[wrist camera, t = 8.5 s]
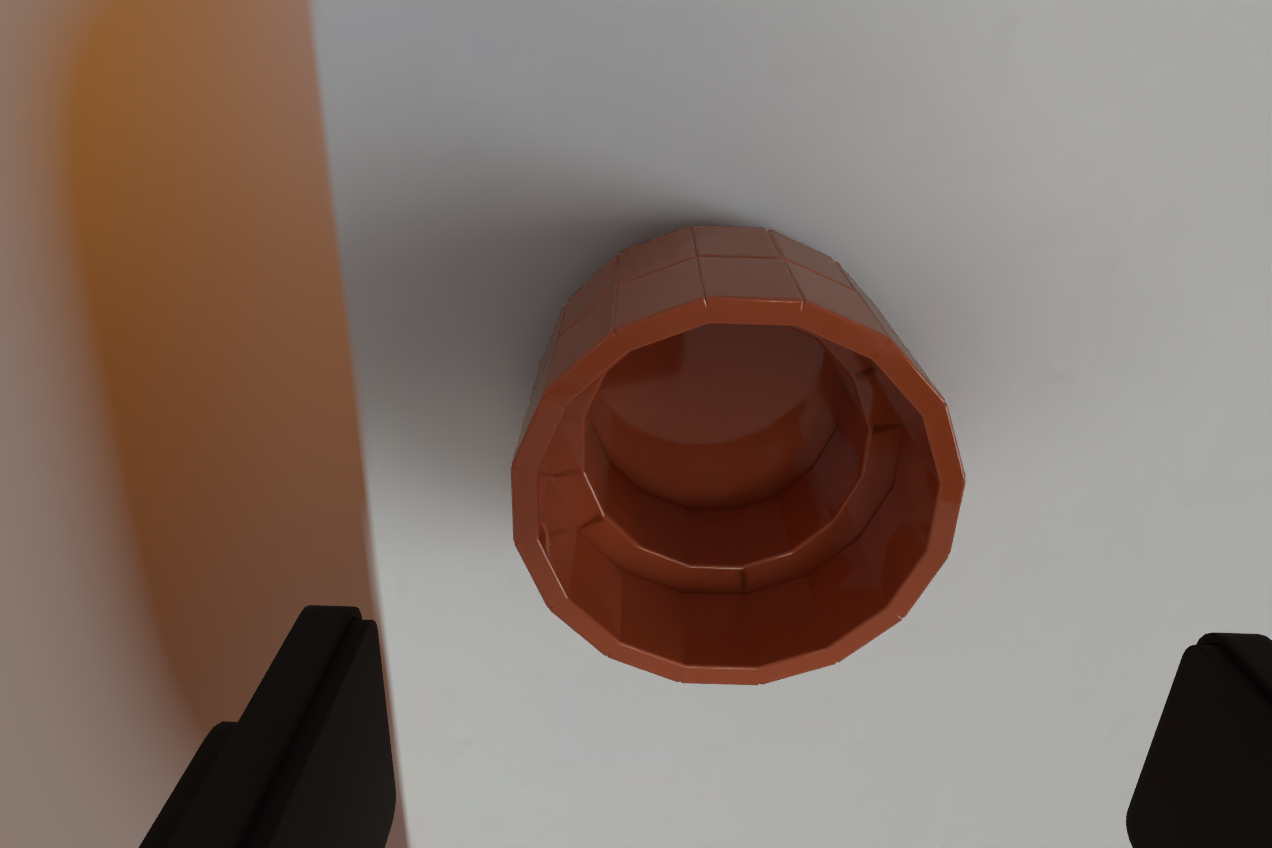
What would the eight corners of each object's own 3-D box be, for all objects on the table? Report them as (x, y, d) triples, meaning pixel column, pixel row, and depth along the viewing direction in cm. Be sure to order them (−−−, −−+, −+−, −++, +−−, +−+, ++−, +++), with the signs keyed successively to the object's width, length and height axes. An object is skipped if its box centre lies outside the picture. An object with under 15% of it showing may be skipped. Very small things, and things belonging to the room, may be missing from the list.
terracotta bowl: (538, 213, 16) (503, 290, 12) (913, 224, 16) (1006, 305, 12) (544, 530, 19) (517, 679, 15) (861, 539, 19) (921, 690, 15)
